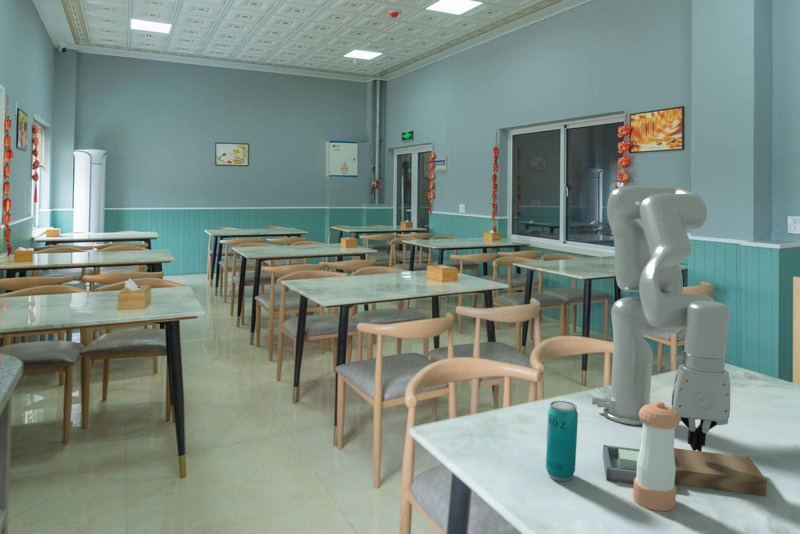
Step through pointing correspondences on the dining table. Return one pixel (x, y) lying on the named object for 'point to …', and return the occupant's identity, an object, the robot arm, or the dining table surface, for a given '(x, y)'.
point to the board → (718, 472)
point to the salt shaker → (656, 458)
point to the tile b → (628, 459)
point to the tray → (617, 466)
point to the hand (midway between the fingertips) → (695, 447)
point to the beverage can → (561, 440)
